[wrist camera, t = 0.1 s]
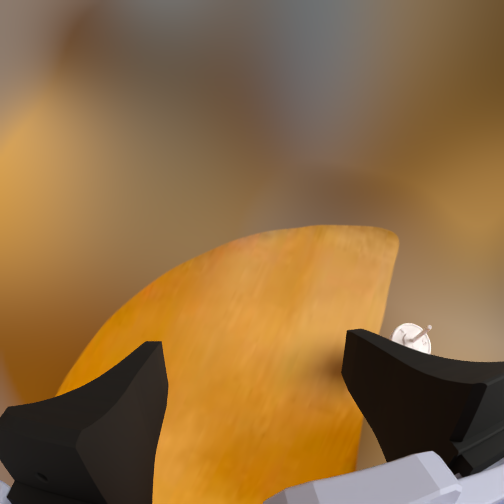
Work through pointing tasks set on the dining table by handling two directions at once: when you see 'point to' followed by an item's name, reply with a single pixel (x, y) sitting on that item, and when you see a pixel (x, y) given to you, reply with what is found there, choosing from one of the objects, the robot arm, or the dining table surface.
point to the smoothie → (412, 337)
